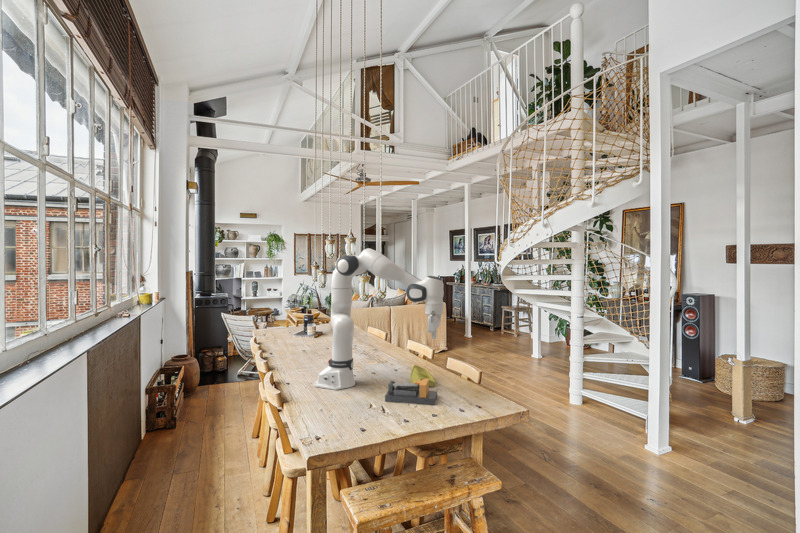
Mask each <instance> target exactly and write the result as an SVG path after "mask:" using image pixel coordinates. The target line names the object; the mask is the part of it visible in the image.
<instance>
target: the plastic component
mask: <svg viewBox="0 0 800 533" xmlns="http://www.w3.org/2000/svg"><path fill="white" fill-rule="evenodd" d="M422 379H429V388H430V387H431V388H433V387H434V386H435V384H436V379H434V377H433V376H432V374H431V373H430V372H429V371H428V370H427V369H425V368H424V367H421V366H420V365H417V364H414V365H413V366H412V369H411V371H410V375H409V383H415V381H416V380H421V381H422ZM417 386H419V387H420V384H418V385H417Z"/></svg>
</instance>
